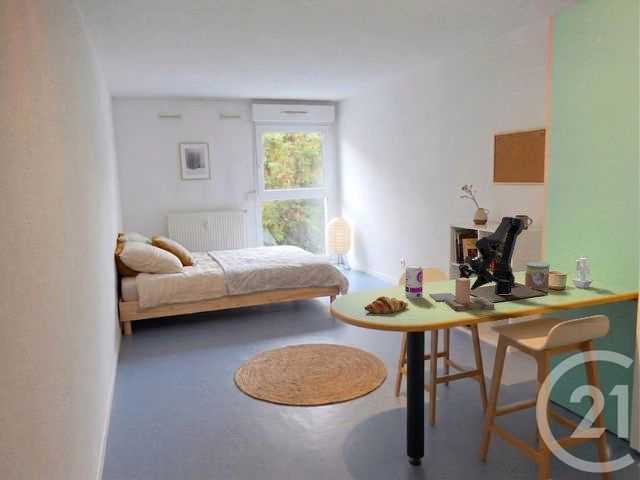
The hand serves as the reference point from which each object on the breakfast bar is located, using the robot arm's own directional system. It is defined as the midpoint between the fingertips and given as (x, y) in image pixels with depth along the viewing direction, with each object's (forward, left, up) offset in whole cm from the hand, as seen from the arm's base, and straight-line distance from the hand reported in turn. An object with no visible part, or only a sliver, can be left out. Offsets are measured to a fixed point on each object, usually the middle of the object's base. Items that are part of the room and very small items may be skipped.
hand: (464, 287), depth 221 cm
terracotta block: (+1, 0, -9) cm, 9 cm away
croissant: (+36, +2, -9) cm, 37 cm away
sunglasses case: (-37, -38, -9) cm, 54 cm away
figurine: (-71, -23, -9) cm, 75 cm away
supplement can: (+18, -19, -9) cm, 27 cm away
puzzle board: (-2, 0, -9) cm, 9 cm away
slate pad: (+4, -14, -9) cm, 17 cm away
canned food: (-49, -27, -9) cm, 57 cm away
